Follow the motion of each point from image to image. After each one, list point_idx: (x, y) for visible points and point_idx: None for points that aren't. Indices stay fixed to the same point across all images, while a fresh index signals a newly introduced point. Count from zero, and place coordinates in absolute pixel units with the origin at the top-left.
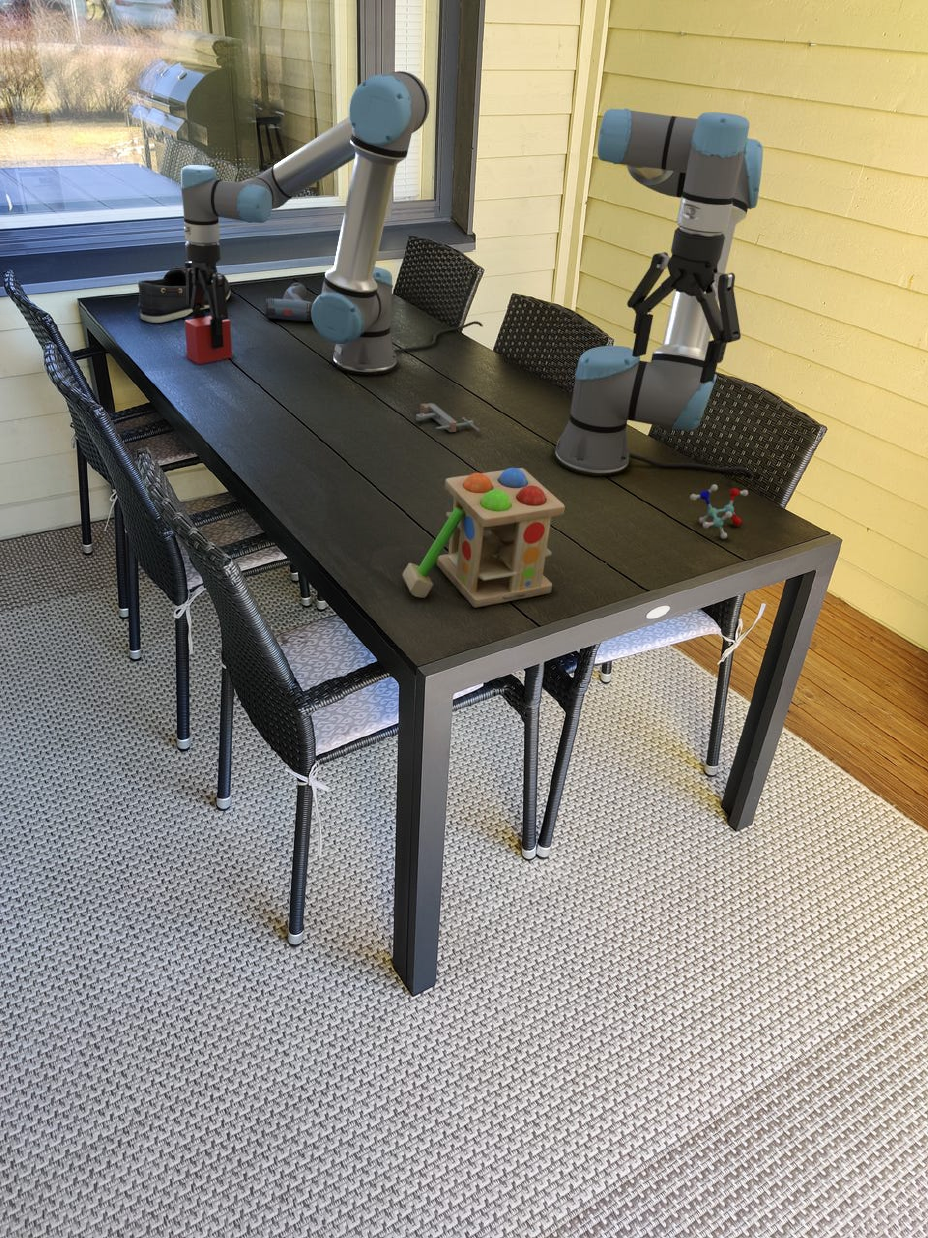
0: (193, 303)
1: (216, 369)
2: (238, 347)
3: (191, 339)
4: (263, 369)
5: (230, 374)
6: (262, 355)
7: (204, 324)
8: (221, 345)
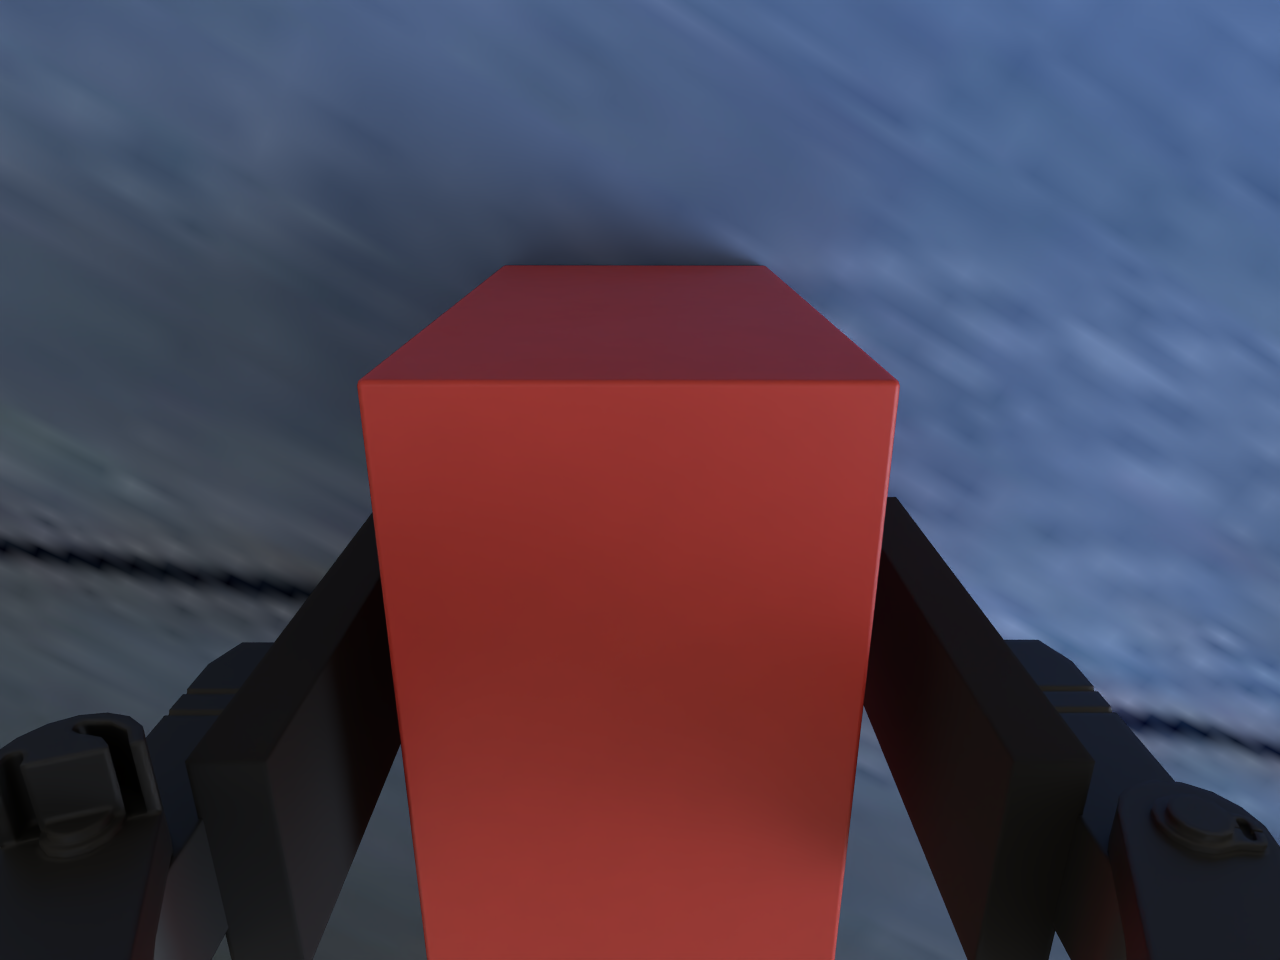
0: (1162, 937)
1: (260, 360)
2: None
3: (621, 311)
4: None
5: (58, 412)
6: None
7: (415, 614)
8: None
